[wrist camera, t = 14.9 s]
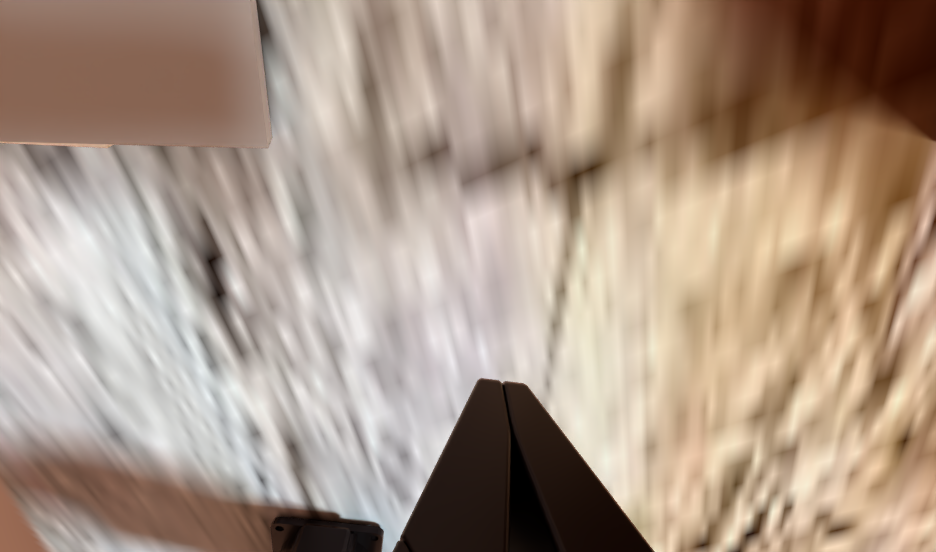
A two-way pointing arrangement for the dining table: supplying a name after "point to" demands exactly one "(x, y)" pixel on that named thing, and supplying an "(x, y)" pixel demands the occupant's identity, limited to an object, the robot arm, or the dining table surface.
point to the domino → (133, 73)
